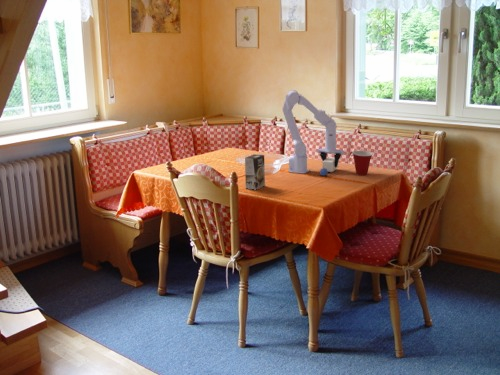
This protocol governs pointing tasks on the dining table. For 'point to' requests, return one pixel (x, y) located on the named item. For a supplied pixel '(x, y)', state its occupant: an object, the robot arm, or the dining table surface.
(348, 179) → the dining table surface
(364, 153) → the plastic cup
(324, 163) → the cream rectangular prism
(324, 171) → the ball
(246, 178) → the coffee box
